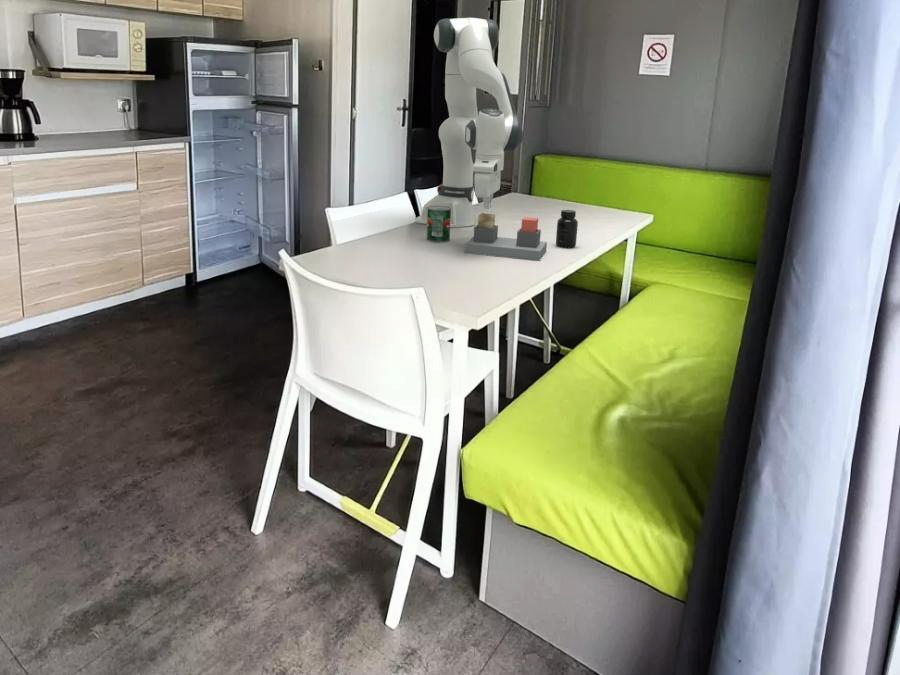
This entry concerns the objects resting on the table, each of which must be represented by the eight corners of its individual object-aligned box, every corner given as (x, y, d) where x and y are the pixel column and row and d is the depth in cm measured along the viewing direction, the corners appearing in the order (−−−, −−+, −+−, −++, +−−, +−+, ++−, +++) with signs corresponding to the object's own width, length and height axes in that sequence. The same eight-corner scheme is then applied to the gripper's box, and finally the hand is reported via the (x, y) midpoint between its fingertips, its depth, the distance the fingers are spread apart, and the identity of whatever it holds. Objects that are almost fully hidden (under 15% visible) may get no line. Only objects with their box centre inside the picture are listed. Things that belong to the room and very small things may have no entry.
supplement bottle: (561, 242, 247) (565, 208, 243) (579, 246, 243) (583, 211, 239) (551, 246, 242) (554, 210, 237) (568, 249, 238) (572, 213, 233)
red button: (521, 232, 225) (521, 219, 224) (523, 229, 229) (524, 217, 228) (534, 233, 224) (535, 220, 223) (537, 230, 228) (538, 218, 227)
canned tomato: (423, 237, 246) (424, 205, 242) (445, 236, 248) (446, 205, 244) (430, 243, 239) (432, 210, 235) (453, 242, 241) (454, 209, 237)
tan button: (477, 227, 229) (478, 215, 227) (481, 225, 233) (481, 213, 231) (491, 229, 228) (492, 216, 226) (494, 226, 232) (495, 214, 230)
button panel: (464, 252, 228) (465, 229, 225) (475, 243, 240) (476, 221, 238) (539, 260, 222) (541, 236, 219) (546, 250, 234) (548, 227, 232)
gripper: (487, 159, 233) (485, 202, 238) (471, 166, 215) (469, 212, 220) (506, 161, 232) (503, 203, 236) (492, 167, 213) (489, 214, 218)
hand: (487, 208), depth 228 cm, fingers closed
